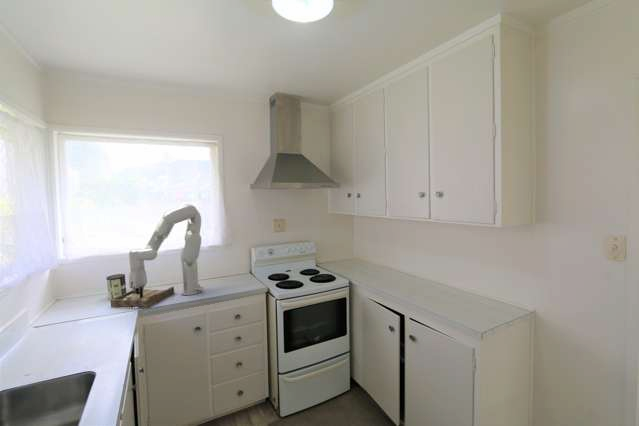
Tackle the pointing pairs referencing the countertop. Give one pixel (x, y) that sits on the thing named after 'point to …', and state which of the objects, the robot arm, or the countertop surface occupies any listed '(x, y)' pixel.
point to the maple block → (133, 297)
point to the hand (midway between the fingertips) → (140, 297)
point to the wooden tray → (144, 302)
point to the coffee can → (116, 285)
